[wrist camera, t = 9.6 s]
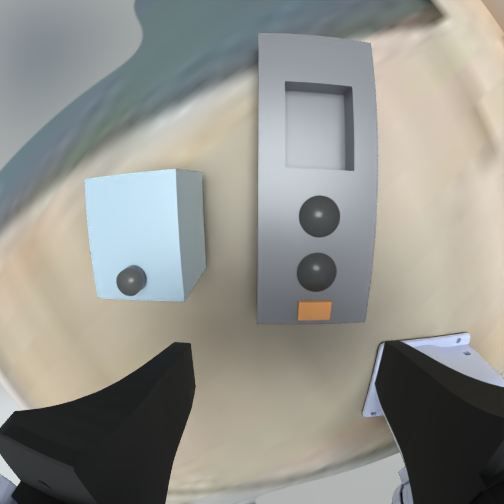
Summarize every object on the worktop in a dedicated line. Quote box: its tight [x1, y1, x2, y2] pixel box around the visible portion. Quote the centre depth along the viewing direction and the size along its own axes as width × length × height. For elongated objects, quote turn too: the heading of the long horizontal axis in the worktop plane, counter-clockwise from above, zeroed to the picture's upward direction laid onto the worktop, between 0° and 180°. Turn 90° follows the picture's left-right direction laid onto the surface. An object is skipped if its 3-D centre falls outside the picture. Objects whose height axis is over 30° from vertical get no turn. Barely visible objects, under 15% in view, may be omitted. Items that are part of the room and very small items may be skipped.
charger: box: [85, 169, 206, 302], centre depth 16 cm, size 5×6×8 cm
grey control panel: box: [257, 33, 378, 324], centre depth 17 cm, size 7×18×3 cm, turn 0°
